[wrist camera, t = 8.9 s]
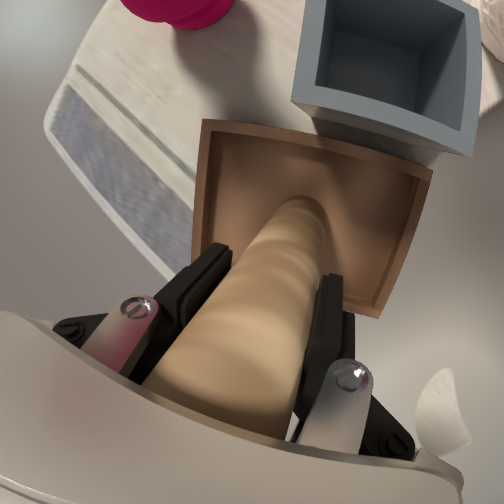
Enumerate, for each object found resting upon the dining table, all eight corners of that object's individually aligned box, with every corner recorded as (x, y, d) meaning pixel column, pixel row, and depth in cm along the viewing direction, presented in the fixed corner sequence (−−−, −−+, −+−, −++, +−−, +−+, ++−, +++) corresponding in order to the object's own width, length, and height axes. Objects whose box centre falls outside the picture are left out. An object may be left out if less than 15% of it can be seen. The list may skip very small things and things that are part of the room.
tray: (425, 167, 16) (433, 170, 14) (376, 306, 21) (378, 318, 19) (213, 119, 19) (202, 118, 17) (200, 257, 24) (190, 266, 23)
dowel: (332, 202, 17) (295, 448, 4) (320, 250, 19) (259, 488, 5) (281, 190, 18) (109, 372, 4) (272, 238, 20) (140, 441, 6)
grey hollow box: (426, 52, 12) (478, 9, 4) (414, 146, 15) (471, 158, 7) (324, 24, 13) (311, -43, 5) (310, 117, 17) (290, 101, 9)
